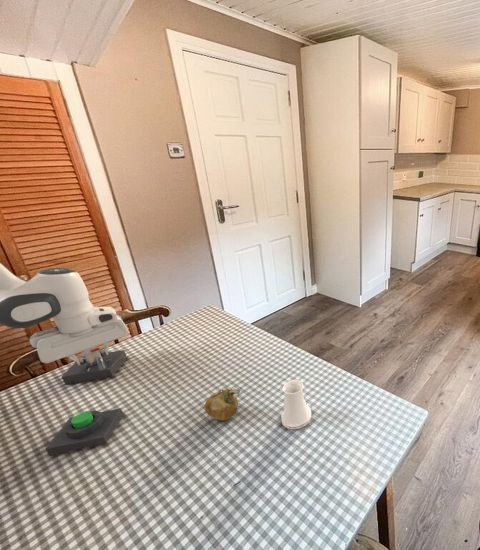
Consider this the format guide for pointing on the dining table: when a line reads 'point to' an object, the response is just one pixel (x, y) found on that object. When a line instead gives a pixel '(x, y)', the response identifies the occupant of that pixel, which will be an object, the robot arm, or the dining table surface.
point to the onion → (222, 404)
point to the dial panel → (95, 369)
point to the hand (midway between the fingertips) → (93, 359)
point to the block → (86, 433)
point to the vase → (295, 406)
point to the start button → (82, 419)
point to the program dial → (92, 356)
